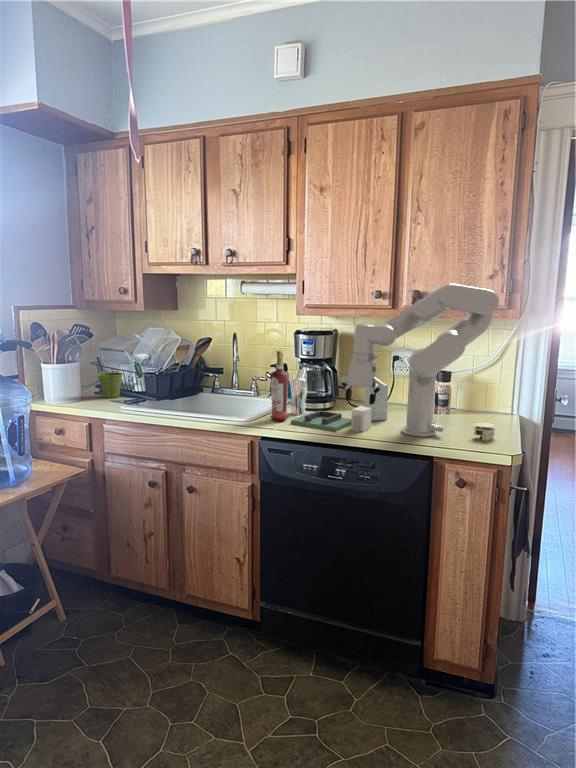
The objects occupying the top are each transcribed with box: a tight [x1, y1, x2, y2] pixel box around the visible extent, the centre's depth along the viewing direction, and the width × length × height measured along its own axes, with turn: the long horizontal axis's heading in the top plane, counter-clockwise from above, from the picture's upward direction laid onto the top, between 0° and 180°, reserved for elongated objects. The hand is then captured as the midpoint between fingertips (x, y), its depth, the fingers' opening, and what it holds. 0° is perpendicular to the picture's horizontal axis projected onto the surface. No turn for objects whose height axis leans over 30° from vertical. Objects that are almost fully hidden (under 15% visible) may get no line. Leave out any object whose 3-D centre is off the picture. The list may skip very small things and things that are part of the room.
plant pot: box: [96, 371, 124, 399], centre depth 252 cm, size 12×12×11 cm
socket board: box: [290, 410, 352, 432], centre depth 208 cm, size 20×16×4 cm
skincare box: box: [363, 382, 389, 422], centre depth 215 cm, size 8×6×15 cm
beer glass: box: [290, 377, 308, 416], centre depth 223 cm, size 7×7×15 cm
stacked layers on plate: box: [473, 422, 497, 441], centre depth 190 cm, size 10×9×6 cm
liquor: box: [270, 350, 290, 422], centre depth 210 cm, size 7×7×28 cm
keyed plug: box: [350, 405, 372, 433], centre depth 199 cm, size 5×9×8 cm, turn 147°
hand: (359, 402), depth 199 cm, fingers open, 9 cm apart
